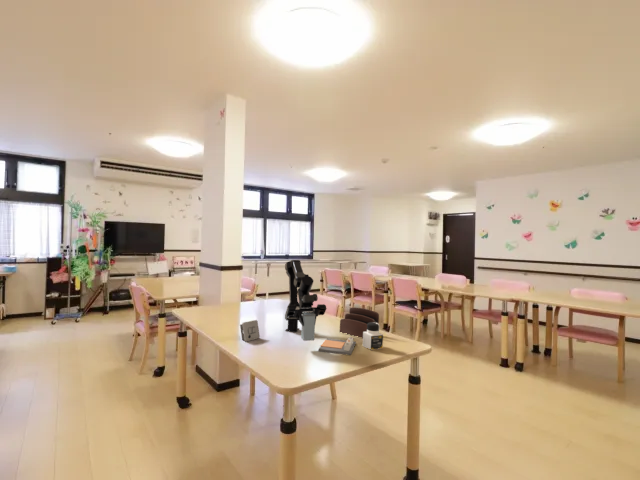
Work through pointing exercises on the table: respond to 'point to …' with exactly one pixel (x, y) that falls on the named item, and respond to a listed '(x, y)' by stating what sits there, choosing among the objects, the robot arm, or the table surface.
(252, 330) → the electrical switch
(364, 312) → the letter holder
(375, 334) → the medicine bottle
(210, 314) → the table surface
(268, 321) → the table surface
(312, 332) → the cap
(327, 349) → the board
